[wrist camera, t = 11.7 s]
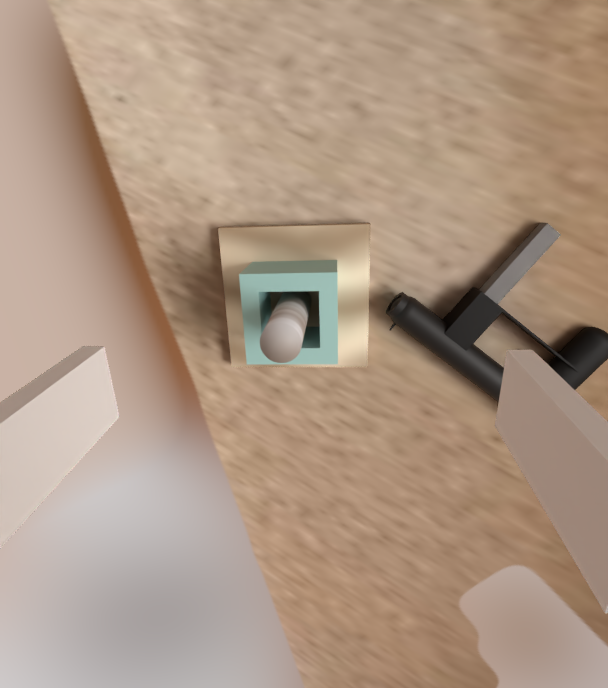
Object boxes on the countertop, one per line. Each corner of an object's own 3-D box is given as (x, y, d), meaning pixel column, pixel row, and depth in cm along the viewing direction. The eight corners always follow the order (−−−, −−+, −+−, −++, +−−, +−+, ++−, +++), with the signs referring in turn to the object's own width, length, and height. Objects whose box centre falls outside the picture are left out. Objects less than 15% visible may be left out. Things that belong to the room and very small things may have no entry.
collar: (252, 261, 41) (238, 274, 35) (337, 260, 40) (337, 272, 35) (258, 341, 44) (246, 364, 38) (337, 340, 43) (337, 364, 38)
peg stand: (221, 226, 41) (171, 245, 29) (369, 223, 40) (383, 240, 28) (234, 362, 46) (196, 428, 34) (366, 362, 45) (377, 430, 33)
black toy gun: (502, 180, 36) (378, 327, 41) (663, 320, 39) (532, 443, 44) (487, 182, 39) (374, 318, 44) (638, 311, 42) (518, 427, 47)
